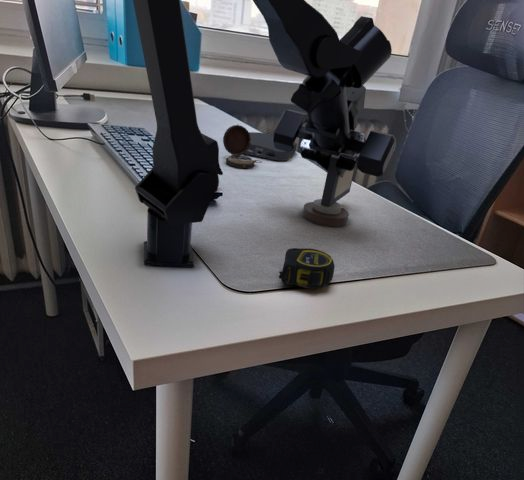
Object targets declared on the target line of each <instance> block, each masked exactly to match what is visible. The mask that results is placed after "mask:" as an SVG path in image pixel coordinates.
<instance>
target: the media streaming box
mask: <svg viewBox="0 0 524 480" xmlns="http://www.w3.org/2000/svg"><path fill="white" fill-rule="evenodd" d="M248 132H249V134H250V138H251V140H250V146H249V148H248V150H247V151H246V152H245V153H244V154H246V155H250V156H253V157H260V158H264V159H268V160H274V161H286V160H289V159H290V158H292V157H293V156H294V155H295V154H296V152H297V146H298V143H297V142H296V141H295V142H294V149H293V151H291V152H286V151H282V150H279V149H275V147H274V144H273V141H272V134H273V133H267V132H256V131H255V132H254V131H253V132H251V131H248Z"/></svg>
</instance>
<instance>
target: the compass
mask: <svg viewBox="0 0 524 480" xmlns="http://www.w3.org/2000/svg"><path fill="white" fill-rule="evenodd" d="M249 132H250V131H249V130H248V129H247V128H246V127H244V126H242V125H240V124H234V125H231V126H229V127H228V128H226V130H225V131H224V133H223V134H224V135H223V136H222V143H223V147H224V149H225V151H227V152H228V153H229V154H231V155H229V156H228V157H226V159H225V163H226V164H227V165H229V166H230V167H234V168H238V169H251V168H253V167H254V166H255V163H256V164H262V163H263V161H262V160H259V159H252V158H251V157H250V156H247V155H244V154H245V152H246V151H247V150H248V148H249V146H250V140H251V138H250V134H249Z"/></svg>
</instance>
